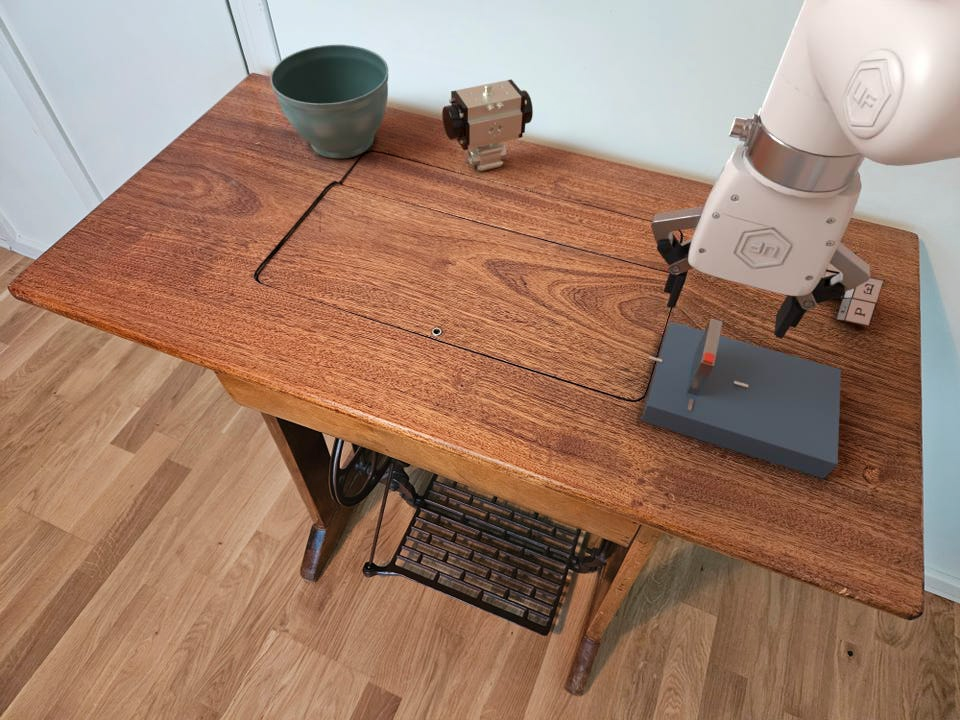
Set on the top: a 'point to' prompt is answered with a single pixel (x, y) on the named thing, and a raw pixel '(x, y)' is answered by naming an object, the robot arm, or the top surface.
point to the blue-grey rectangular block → (749, 401)
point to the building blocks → (858, 299)
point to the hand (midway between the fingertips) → (725, 311)
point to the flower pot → (333, 97)
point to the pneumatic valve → (487, 120)
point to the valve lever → (705, 357)
